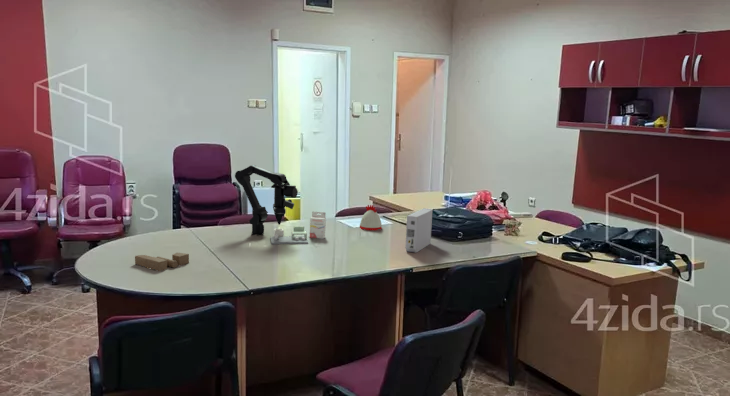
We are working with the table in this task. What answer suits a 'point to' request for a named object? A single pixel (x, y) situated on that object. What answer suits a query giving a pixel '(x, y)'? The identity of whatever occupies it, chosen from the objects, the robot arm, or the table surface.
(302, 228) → the cover
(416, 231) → the game console
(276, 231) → the white hollow square block
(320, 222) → the ink cartridge box
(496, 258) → the table surface
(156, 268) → the wooden block set
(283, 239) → the housing plate
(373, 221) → the cream and red dome
